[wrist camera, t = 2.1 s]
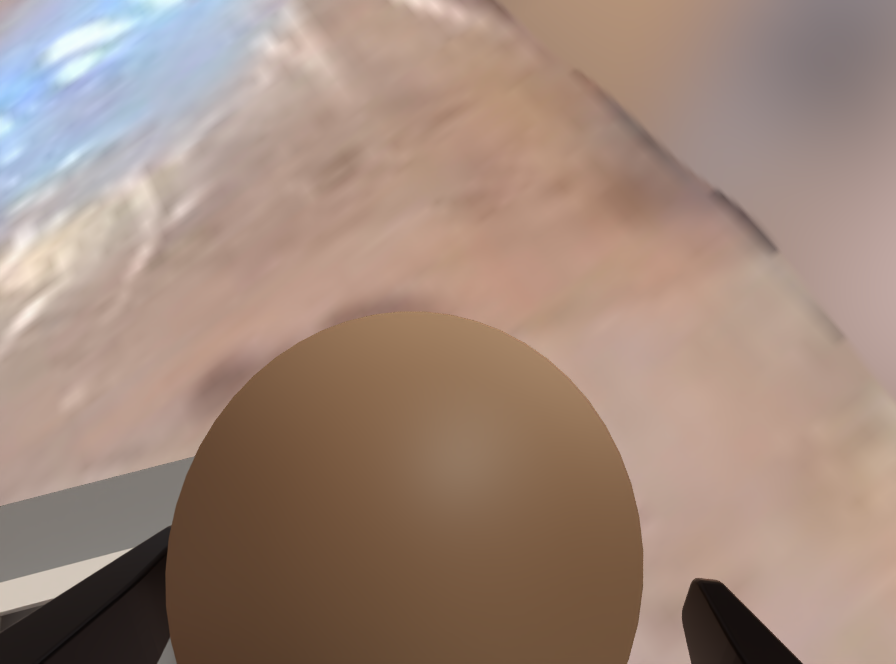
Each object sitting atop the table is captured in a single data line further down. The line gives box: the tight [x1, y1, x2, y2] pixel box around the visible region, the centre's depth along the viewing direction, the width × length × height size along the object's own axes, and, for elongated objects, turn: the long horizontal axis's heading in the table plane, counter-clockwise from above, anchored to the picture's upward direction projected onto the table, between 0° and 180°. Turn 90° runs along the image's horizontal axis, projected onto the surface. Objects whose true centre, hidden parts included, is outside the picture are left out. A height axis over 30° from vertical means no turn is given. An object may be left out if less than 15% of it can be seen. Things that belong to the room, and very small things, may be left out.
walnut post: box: [165, 312, 643, 664], centre depth 11 cm, size 5×5×13 cm
